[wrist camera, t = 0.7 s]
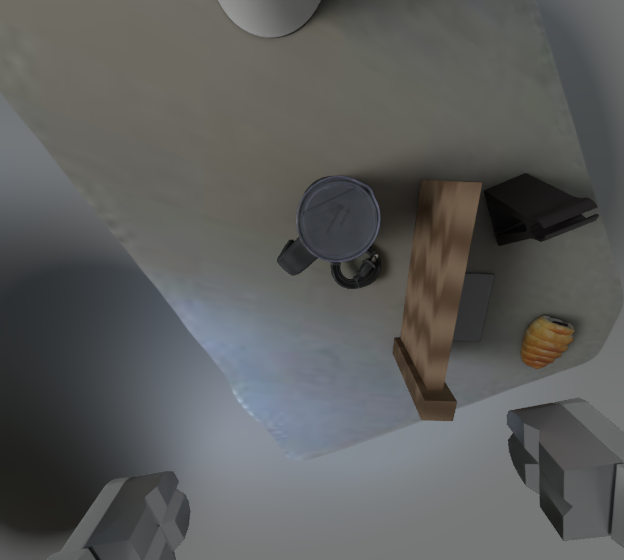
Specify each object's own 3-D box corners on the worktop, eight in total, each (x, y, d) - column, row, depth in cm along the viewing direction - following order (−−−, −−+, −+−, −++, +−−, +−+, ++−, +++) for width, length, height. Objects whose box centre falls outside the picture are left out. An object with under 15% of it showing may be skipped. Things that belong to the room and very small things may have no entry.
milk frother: (318, 163, 46) (319, 159, 32) (411, 213, 48) (450, 230, 34) (277, 249, 50) (262, 278, 36) (364, 292, 52) (382, 335, 38)
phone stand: (536, 229, 49) (603, 246, 37) (497, 245, 49) (551, 266, 38) (524, 173, 46) (592, 172, 35) (483, 190, 47) (537, 195, 36)
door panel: (414, 179, 46) (461, 182, 31) (448, 180, 46) (512, 183, 31) (392, 353, 56) (421, 420, 40) (421, 353, 56) (460, 421, 40)
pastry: (544, 366, 56) (559, 379, 53) (508, 358, 56) (521, 371, 52) (569, 319, 54) (587, 330, 50) (532, 310, 53) (547, 320, 50)
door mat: (424, 271, 51) (425, 272, 51) (493, 273, 51) (494, 274, 50) (414, 338, 55) (415, 339, 54) (478, 340, 55) (479, 341, 54)
